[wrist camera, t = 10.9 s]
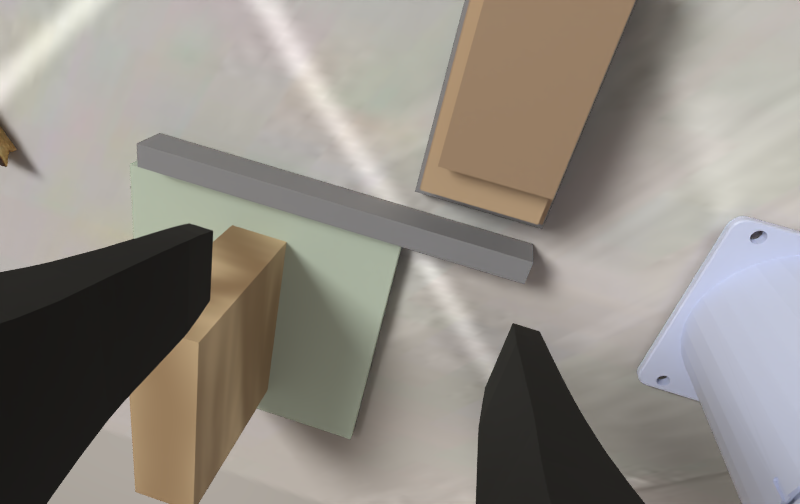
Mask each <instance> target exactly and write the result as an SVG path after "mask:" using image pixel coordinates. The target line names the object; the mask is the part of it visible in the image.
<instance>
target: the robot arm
mask: <svg viewBox="0 0 800 504" xmlns="http://www.w3.org/2000/svg"><path fill="white" fill-rule="evenodd" d="M756 231H763V233H762V235H761V236H760V237H759V238H756V239H750V236H751V235H752V234H753V233H754V232H756ZM212 250H213V230H210V229H206V228H203V227H200V226H197V225H193V224H190V223H188V224H183V225H179V226H175V227H172V228H168V229H165V230H161V231H158V232H155V233H151V234H148V235H145V236H141V237H138V238H135V239H132V240H128V241H125V242H122V243H118V244H115V245H112V246H108V247H105V248H102V249H98V250H94V251H90V252H87V253H83V254H79V255H75V256H72V257H68V258H64V259H60V260H56V261H53V262H48V263H44V264H40V265H35V266H30V267H26V268H20V269H15V270H10V271H4V272H0V504H47V502H48V501H49V499H50V498H51V497H52V495H53V494H54V492H55V491H56V490H57V488H58V487H59V485H60V484H61V483H62V481H63V480H64V478H65V477H66V476H67V474H68V473H69V472H70V470H71V469H72V467H73V466H74V465H75V463H76V462H77V460H78V459H79V457H80V456H81V455H82V454H83V452H84V451H85V450H86V448H87V447H88V446H89V444H90V443H91V442H92V440H93V439H94V438H95V436H96V435H97V434H98V432H99V431H100V430H101V429H102V427H103V426H104V425H105V423H106V422H107V421H108V419H109V418H110V417H111V416H112V415H113V414H114V412H115V411H116V410H117V409H118V408H119V407H120V405H121V404H122V403H123V402H124V401H125V400H126V399H127V398H128V397H129V396H130V395H131V393H132V392H133V391H134V390H135V389H136V388H137V387H138V386H139V385H140V384H141V383H142V382H143V381H144V380H145V379H146V378H147V376H148V375H149V374H150V373H151V372H152V371H153V370H154V369H155V368H156V367H157V366H158V365H159V364H160V363H161V362H162V360H163V359H164V358H165V357H166V356H167V355H168V354H169V353H170V352H171V351H172V350H173V349H174V347H175V346H176V345H177V344H178V343H179V342H180V341H181V340H182V339H183V338H184V337H185V335H186V334H187V333H188V332H189V330H190V329H191V328H192V326H193V325H194V323H195V322H196V321H197V319H198V318H199V316H200V315H201V313H202V312H203V310H204V309H205V307H206V306H207V305H208V303H209V302H210V295H211V273H212ZM637 374H638V378H639V380H640V381H641V383H643V384H645V385H648V386H651V387H655V388H658V389H661V390H664V391H667V392H671V393H674V394H677V395H680V396H683V397H687V398H690V399H693V400H696V401H699V402H700V404H701V406H702V409H703V411H704V414H705V416H706V418H707V421H708V423H709V426H710V428H711V430H712V433H713V435H714V438H715V440H716V443H717V445H718V447H719V450H720V452H721V455H722V457H723V460H724V462H725V464H726V467H727V469H728V472H729V474H730V476H731V479H732V481H733V484H734V486H735V489H736V491H737V493H738V496H739V498H740V501H741V503H742V504H800V231H797V230H793V229H790V228H786V227H783V226H779V225H776V224H772V223H769V222H765V221H762V220H758V219H755V218H751V217H746V216H741V217H736V218H734V219H732V220H731V221H730V222H729V223H728V224H727V225H726V227H725V228H724V230H723V231H722V233H721V235H720V236H719V238H718V240H717V241H716V243H715V244H714V246H713V248H712V249H711V251H710V252H709V254H708V256H707V257H706V259H705V261H704V262H703V264H702V265H701V267H700V269H699V270H698V272H697V273H696V275H695V277H694V278H693V280H692V282H691V283H690V285H689V286H688V288H687V290H686V291H685V293H684V294H683V296H682V298H681V299H680V301H679V302H678V304H677V306H676V307H675V309H674V311H673V312H672V314H671V315H670V317H669V319H668V320H667V322H666V323H665V325H664V327H663V328H662V330H661V332H660V333H659V335H658V336H657V338H656V340H655V341H654V343H653V344H652V346H651V348H650V349H649V351H648V352H647V354H646V356H645V357H644V359H643V361H642V362H641V364H640V365H639V367H638V369H637ZM660 376H667V377H666V378H664V379H657V378H658V377H660ZM476 504H645V503H644V502H643V500H642V499H641V498H640V497H639V495H638V494H637V493H636V492H635V490H634V489H633V488H632V487H631V485H630V484H629V483H628V481H627V480H626V479H625V477H624V476H623V475H622V473H621V472H620V471H619V469H618V468H617V466H616V465H615V464H614V462H613V461H612V460H611V458H610V457H609V456H608V454H607V453H606V451H605V450H604V448H603V447H602V445H601V444H600V442H599V441H598V439H597V438H596V436H595V434H594V433H593V431H592V430H591V428H590V426H589V425H588V423H587V422H586V420H585V418H584V417H583V415H582V413H581V412H580V410H579V408H578V406H577V405H576V403H575V401H574V399H573V397H572V395H571V394H570V392H569V390H568V388H567V386H566V384H565V382H564V380H563V378H562V376H561V374H560V372H559V370H558V368H557V366H556V364H555V362H554V360H553V358H552V356H551V354H550V352H549V350H548V348H547V346H546V344H545V342H544V340H543V338H542V336H541V334H540V332H539V331H536V330H533V329H530V328H526V327H523V326H520V325H517V324H514V323H513V324H512V326H511V329H510V331H509V333H508V336H507V338H506V340H505V343H504V345H503V347H502V350H501V352H500V355H499V357H498V359H497V362H496V364H495V366H494V369H493V371H492V373H491V376H490V378H489V380H488V383H487V385H486V387H485V392H484V398H483V404H482V410H481V416H480V423H479V432H478V457H477V486H476Z"/></svg>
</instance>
